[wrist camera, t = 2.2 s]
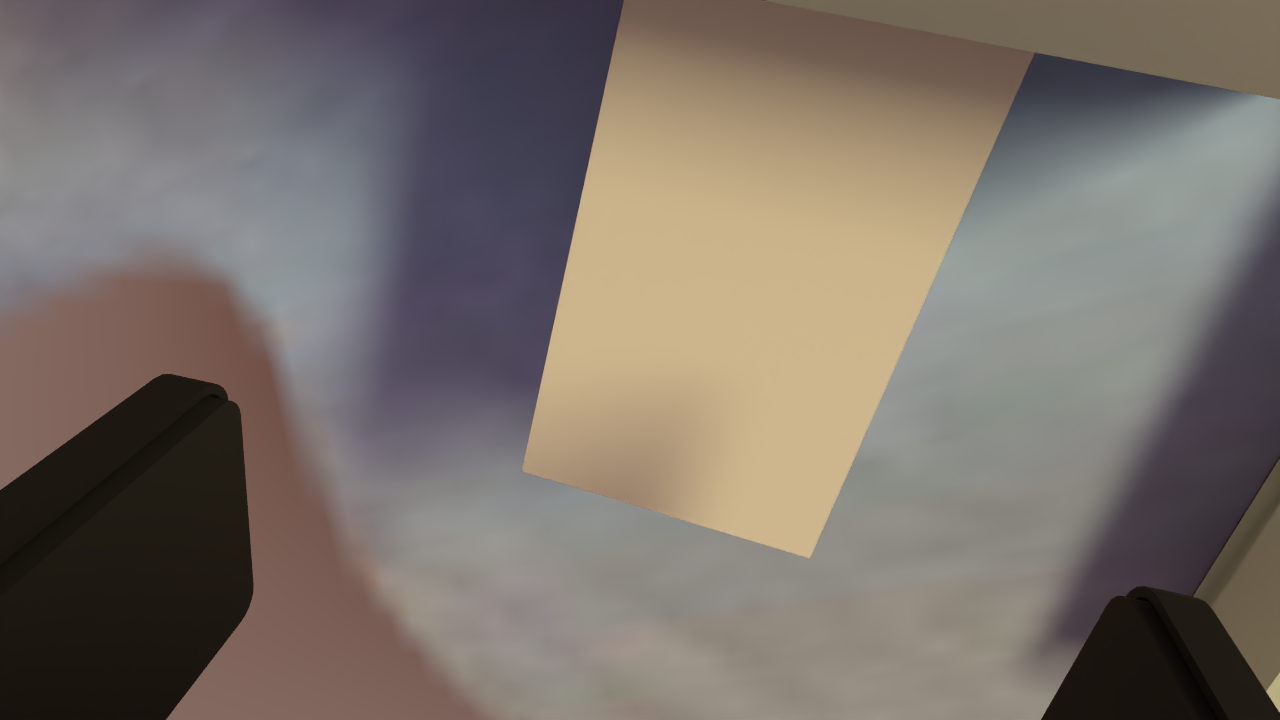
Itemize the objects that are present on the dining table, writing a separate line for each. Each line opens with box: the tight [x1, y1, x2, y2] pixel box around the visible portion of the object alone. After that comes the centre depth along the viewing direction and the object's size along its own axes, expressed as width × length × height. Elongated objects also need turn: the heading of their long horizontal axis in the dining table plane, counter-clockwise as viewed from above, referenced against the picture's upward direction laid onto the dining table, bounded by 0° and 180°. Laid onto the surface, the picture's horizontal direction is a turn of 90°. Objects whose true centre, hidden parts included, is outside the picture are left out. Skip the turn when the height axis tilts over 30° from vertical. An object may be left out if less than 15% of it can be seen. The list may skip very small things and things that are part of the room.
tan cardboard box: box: [522, 0, 1035, 558], centre depth 15 cm, size 15×6×7 cm, turn 166°
